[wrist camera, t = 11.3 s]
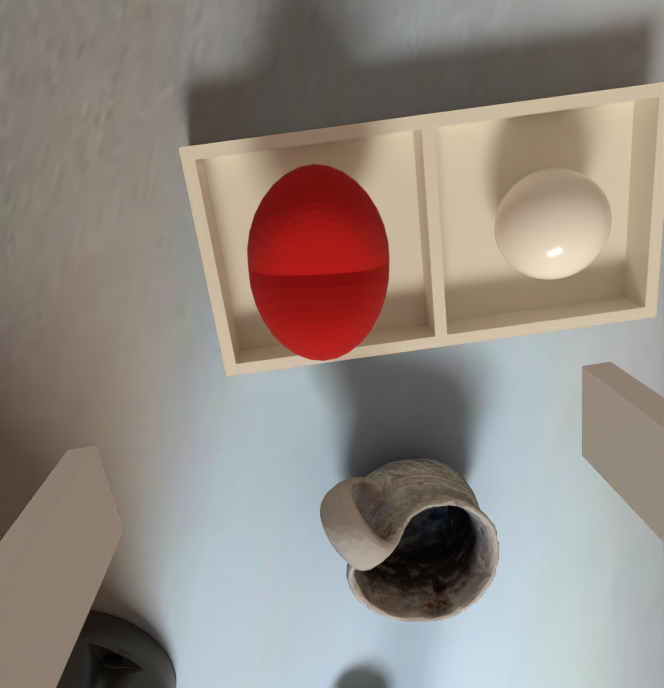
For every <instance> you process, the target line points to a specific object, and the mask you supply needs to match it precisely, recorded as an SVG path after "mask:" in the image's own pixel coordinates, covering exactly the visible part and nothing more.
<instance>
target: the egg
mask: <svg viewBox="0 0 664 688" xmlns="http://www.w3.org/2000/svg"><path fill="white" fill-rule="evenodd" d="M611 223H612V216H611V209H610V205H609V202H608V199H607V197H606V195H605V193H604V192H603V190H602V189H601V188H600V186H599V185H598V184H597V183H596V182H595V181H593V180H592V179H591V178H590V177H588V176H586V175H585V174H583V173H581V172H578V171H575V170H571V169H567V168H548V169H543V170H539V171H536V172H533V173H531V174H529V175H527V176H525V177H524V178H522V179H521V180H519V181H518V182H517V183H515V184H514V185H513V186H512V187H511V188H510V189H509V190H508V192H507V193H506V194H505V196H504V197H503V199H502V201H501V202H500V204H499V207H498V209H497V213H496V216H495V223H494V233H495V239H496V243H497V246H498V249H499V250H500V252H501V254H502V256H503V257H504V259H505V260H506V261H507V262H508V263H509V264H510V265H511V266H512V267H513V268H514V269H516V270H517V271H519V272H521V273H522V274H524V275H527V276H530V277H533V278H537V279H547V280H552V279H560V278H565V277H568V276H571V275H573V274H576V273H578V272H580V271H581V270H583V269H584V268H586V267H587V266H588V265H590V264H591V263H592V262H593V261H594V260H595V259H596V258H597V257H598V256H599V254H600V253H601V252H602V250H603V248H604V247H605V245H606V243H607V240H608V238H609V235H610V231H611Z"/></svg>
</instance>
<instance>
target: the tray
mask: <svg viewBox="0 0 664 688" xmlns="http://www.w3.org/2000/svg"><path fill="white" fill-rule="evenodd" d="M179 151H180V156H181V161H182V166H183V171H184V175H185V180H186V185H187V190H188V195H189V199H190V204H191V209H192V214H193V219H194V223H195V228H196V233H197V238H198V243H199V247H200V252H201V257H202V262H203V267H204V271H205V276H206V281H207V286H208V291H209V295H210V300H211V305H212V310H213V315H214V319H215V324H216V329H217V334H218V338H219V343H220V348H221V353H222V358H223V362H224V367H225V372H226V376H234V375H241V374H248V373H255V372H262V371H270V370H277V369H284V368H291V367H298V366H306V365H313V364H320V363H327V362H334V361H342V360H349V359H356V358H363V357H370V356H378V355H385V354H392V353H399V352H406V351H414V350H421V349H428V348H435V347H442V346H450V345H457V344H464V343H471V342H478V341H486V340H493V339H500V338H507V337H514V336H522V335H529V334H536V333H543V332H550V331H558V330H565V329H572V328H579V327H586V326H594V325H601V324H608V323H615V322H622V321H630V320H637V319H644V318H651V317H656V309H657V296H658V283H659V269H660V256H661V243H662V230H663V216H664V82H661V83H654V84H646V85H639V86H631V87H624V88H617V89H609V90H602V91H594V92H587V93H579V94H572V95H565V96H557V97H550V98H542V99H535V100H528V101H520V102H513V103H505V104H498V105H491V106H483V107H476V108H468V109H461V110H453V111H446V112H439V113H431V114H424V115H416V116H409V117H402V118H394V119H387V120H379V121H372V122H364V123H357V124H350V125H342V126H335V127H327V128H320V129H313V130H305V131H298V132H290V133H283V134H275V135H268V136H261V137H253V138H246V139H238V140H231V141H224V142H216V143H209V144H201V145H194V146H186V147H179ZM311 164H318V165H328V166H330V167H333V168H335V169H338V170H340V171H343V172H344V173H346V174H347V175H348V176H350V177H351V178H353V179H354V180H355V181H357V182H358V184H359V185H360V186H361V187H362V188H363V189H364V190H365V191H366V192H367V193H368V195H369V196H370V198H371V199H372V201H373V203H374V204H375V206H376V207H377V209H378V211H379V214H380V216H381V219H382V221H383V223H384V226H385V230H386V234H387V238H388V243H389V259H390V263H389V282H388V288H387V293H386V298H385V301H384V304H383V307H382V310H381V313H380V315H379V317H378V319H377V321H376V323H375V325H374V326H373V328H372V330H371V331H370V333H369V334H368V335H367V336H366V337H365V339H364V340H363V341H362V342H361V343H360V344H359V345H358V346H357V347H355V348H354V349H353V350H352V351H350V352H349V353H347V354H345V355H343V356H341V357H339V358H336V359H331V360H326V361H318V360H309V359H307V358H304V357H301V356H298V355H296V354H295V353H293V352H292V351H290V350H289V349H287V348H285V347H284V346H283V345H282V344H281V343H280V342H279V341H278V340H277V339H276V338H275V337H274V336H273V335H272V333H271V332H270V330H269V329H268V327H267V326H266V324H265V323H264V321H263V320H262V317H261V315H260V313H259V311H258V309H257V307H256V304H255V301H254V298H253V294H252V291H251V287H250V280H249V272H248V259H247V246H248V238H249V231H250V228H251V224H252V221H253V217H254V214H255V212H256V210H257V208H258V206H259V204H260V202H261V200H262V198H263V197H264V196H265V194H266V193H267V192H268V191H269V189H270V188H271V187H272V185H273V184H274V183H275V182H277V181H278V180H279V179H280V178H281V177H282V176H284V175H285V174H286V173H288V172H290V171H292V170H294V169H296V168H298V167H301V166H306V165H311ZM548 168H567V169H571V170H575V171H578V172H581V173H583V174H585V175H586V176H588V177H590V178H591V179H592V180H593V181H595V182H596V183H597V184H598V185H599V186H600V188H601V189H602V190H603V192H604V193H605V195H606V197H607V199H608V202H609V205H610V209H611V216H612V223H611V231H610V235H609V238H608V240H607V243H606V245H605V247H604V248H603V250H602V252H601V253H600V254H599V256H598V257H597V258H596V259H595V260H594V261H593V262H592V263H591V264H590V265H588V266H587V267H586V268H584V269H583V270H581V271H580V272H578V273H576V274H573V275H571V276H568V277H565V278H560V279H552V280H547V279H537V278H533V277H530V276H527V275H524V274H522V273H521V272H519V271H517V270H516V269H514V268H513V267H512V266H511V265H510V264H509V263H508V262H507V261H506V260H505V259H504V257H503V256H502V254H501V252H500V250H499V249H498V246H497V243H496V239H495V233H494V223H495V216H496V213H497V209H498V207H499V204H500V202H501V201H502V199H503V197H504V196H505V194H506V193H507V192H508V190H509V189H510V188H511V187H512V186H513V185H514V184H515V183H517V182H518V181H519V180H521V179H522V178H524V177H525V176H527V175H529V174H531V173H533V172H536V171H539V170H543V169H548Z"/></svg>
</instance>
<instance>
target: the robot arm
mask: <svg viewBox="0 0 664 688" xmlns="http://www.w3.org/2000/svg"><path fill="white" fill-rule="evenodd" d="M582 456H583V457H584V458H585V459H586V460H587V461H588V462H589V463H590V464H591V465H592V466H593V467H594V469H595V470H596V471H597V472H598V473H599V474H600V475H601V476H602V477H603V478H604V479H605V480H606V481H607V482H608V483H609V484H610V486H611V487H612V488H613V489H614V490H615V491H616V492H617V493H618V494H619V495H620V496H621V497H622V498H623V499H624V500H625V502H626V503H627V504H628V505H629V506H630V507H631V508H632V509H633V510H634V511H635V512H636V513H637V514H638V515H639V516H640V518H641V519H642V520H643V521H644V522H645V523H646V524H647V525H648V526H649V527H650V528H651V529H652V530H653V531H654V532H655V534H656V535H657V536H658V537H659V538H660V539H661V540H662V541H663V542H664V398H663V397H662V396H660V395H659V394H657V393H656V392H654V391H653V390H651V389H650V388H648V387H647V386H645V385H644V384H642V383H641V382H640V381H638V380H637V379H635V378H634V377H632V376H631V375H629V374H628V373H626V372H625V371H623V370H622V369H620V368H619V367H617V366H616V365H614V364H613V363H611V362H606V363H600V364H594V365H588V366H582ZM123 532H124V528H123V525H122V522H121V519H120V516H119V513H118V510H117V507H116V504H115V500H114V497H113V494H112V491H111V488H110V485H109V482H108V479H107V476H106V473H105V470H104V467H103V464H102V461H101V458H100V455H99V452H98V449H97V446H96V445H94V446H88V447H82V448H76V449H70V450H67V451H66V453H65V454H64V455H63V457H62V458H61V460H60V461H59V462H58V464H57V465H56V466H55V468H54V469H53V470H52V472H51V473H50V474H49V476H48V477H47V479H46V480H45V481H44V483H43V484H42V485H41V487H40V488H39V489H38V491H37V492H36V494H35V495H34V496H33V498H32V499H31V500H30V502H29V503H28V504H27V506H26V507H25V508H24V510H23V511H22V513H21V514H20V515H19V517H18V518H17V519H16V521H15V522H14V523H13V525H12V526H11V528H10V529H9V530H8V532H7V533H6V534H5V536H4V537H3V538H2V540H1V541H0V688H176V679H175V674H174V670H173V667H172V665H171V662H170V660H169V659H168V657H167V655H166V654H165V652H164V651H163V650H162V648H161V647H160V646H159V645H158V644H157V643H156V642H155V641H154V640H153V639H152V638H151V637H150V636H148V635H147V634H146V633H144V632H143V631H141V630H140V629H138V628H137V627H135V626H133V625H131V624H129V623H127V622H125V621H123V620H120V619H118V618H115V617H112V616H109V615H105V614H101V613H96V612H91V611H90V608H91V606H92V604H93V601H94V599H95V597H96V595H97V592H98V590H99V588H100V585H101V583H102V581H103V578H104V576H105V574H106V571H107V569H108V567H109V565H110V562H111V560H112V558H113V555H114V553H115V551H116V548H117V546H118V544H119V542H120V539H121V537H122V535H123Z"/></svg>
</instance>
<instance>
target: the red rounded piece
mask: <svg viewBox="0 0 664 688" xmlns="http://www.w3.org/2000/svg"><path fill="white" fill-rule="evenodd" d="M247 259H248V272H249V280H250V287H251V291H252V294H253V298H254V301H255V304H256V307H257V309H258V311H259V313H260V315H261V317H262V320H263V321H264V323H265V324H266V326H267V327H268V329H269V330H270V332H271V333H272V335H273V336H274V337H275V338H276V339H277V340H278V341H279V342H280V343H281V344H282V345H283V346H284V347H285V348H287V349H289V350H290V351H292V352H293V353H295V354H296V355H298V356H301V357H304V358H307V359H309V360H318V361H326V360H331V359H336V358H339V357H341V356H343V355H345V354H347V353H349V352H350V351H352V350H353V349H354V348H355V347H357V346H358V345H359V344H360V343H361V342H362V341H363V340H364V339H365V337H366V336H367V335H368V334H369V333H370V331H371V330H372V328H373V326H374V325H375V323H376V321H377V319H378V317H379V315H380V313H381V310H382V307H383V304H384V301H385V298H386V293H387V288H388V282H389V263H390V259H389V243H388V238H387V234H386V230H385V226H384V223H383V221H382V219H381V216H380V214H379V211H378V209H377V207H376V206H375V204H374V203H373V201H372V199H371V198H370V196H369V195H368V193H367V192H366V191H365V190H364V189H363V188H362V187H361V186H360V185H359V184H358V182H357V181H355V180H354V179H353V178H351V177H350V176H348V175H347V174H346V173H344V172H343V171H340V170H338V169H335V168H333V167H330V166H328V165H318V164H311V165H306V166H301V167H298V168H296V169H294V170H292V171H290V172H288V173H286V174H285V175H284V176H282V177H281V178H280V179H279V180H278V181H277V182H275V183H274V184H273V185H272V187H271V188H270V189H269V191H268V192H267V193H266V194H265V196H264V197H263V198H262V200H261V202H260V204H259V206H258V208H257V210H256V212H255V214H254V217H253V221H252V224H251V228H250V231H249V238H248V246H247Z"/></svg>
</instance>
